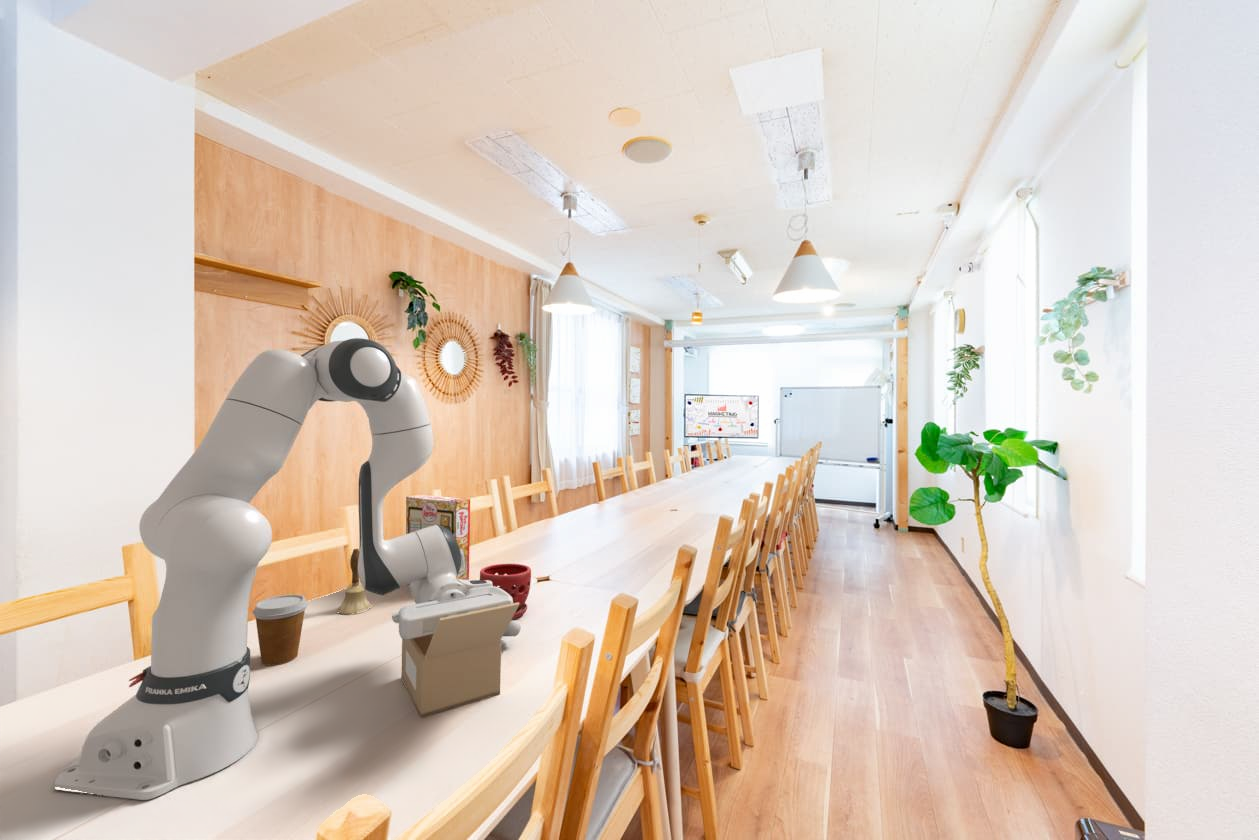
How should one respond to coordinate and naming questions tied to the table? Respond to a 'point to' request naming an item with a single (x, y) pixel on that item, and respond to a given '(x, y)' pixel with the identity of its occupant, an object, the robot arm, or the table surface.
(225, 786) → the table surface
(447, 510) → the board game box
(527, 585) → the plant pot
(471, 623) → the carton flap
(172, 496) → the robot arm
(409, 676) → the carton
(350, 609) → the hand bell
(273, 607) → the disposable coffee cup
